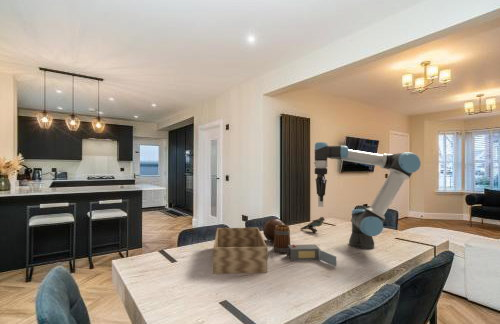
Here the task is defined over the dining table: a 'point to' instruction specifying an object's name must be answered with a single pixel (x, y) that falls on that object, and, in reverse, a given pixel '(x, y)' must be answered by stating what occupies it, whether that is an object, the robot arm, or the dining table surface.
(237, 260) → the box
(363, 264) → the dining table surface
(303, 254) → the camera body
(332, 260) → the side door
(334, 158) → the robot arm
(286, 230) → the mug
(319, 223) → the bird figurine
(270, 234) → the coconut
